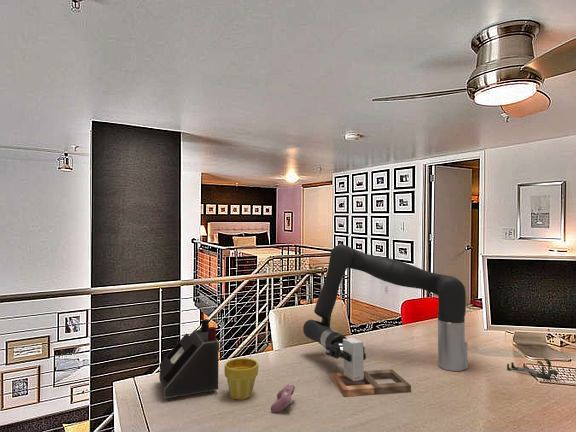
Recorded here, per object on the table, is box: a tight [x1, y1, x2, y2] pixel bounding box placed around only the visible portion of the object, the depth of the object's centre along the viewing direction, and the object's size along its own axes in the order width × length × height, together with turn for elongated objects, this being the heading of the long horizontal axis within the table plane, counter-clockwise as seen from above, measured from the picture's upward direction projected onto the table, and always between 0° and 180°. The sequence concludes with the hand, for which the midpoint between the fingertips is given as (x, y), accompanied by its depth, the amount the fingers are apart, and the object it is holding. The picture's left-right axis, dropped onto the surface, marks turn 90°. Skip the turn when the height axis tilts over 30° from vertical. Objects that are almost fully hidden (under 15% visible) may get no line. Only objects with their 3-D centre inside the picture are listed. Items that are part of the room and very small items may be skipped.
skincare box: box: [342, 337, 365, 382], centre depth 128 cm, size 6×4×12 cm
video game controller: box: [270, 383, 296, 413], centre depth 114 cm, size 10×5×7 cm, turn 169°
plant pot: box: [224, 357, 259, 401], centre depth 121 cm, size 10×10×10 cm
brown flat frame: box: [331, 369, 412, 397], centre depth 129 cm, size 22×14×2 cm, turn 99°
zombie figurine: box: [506, 358, 559, 380], centre depth 137 cm, size 5×7×15 cm
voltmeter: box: [158, 319, 220, 401], centre depth 126 cm, size 16×16×20 cm
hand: (357, 357), depth 125 cm, fingers closed on skincare box, 4 cm apart
